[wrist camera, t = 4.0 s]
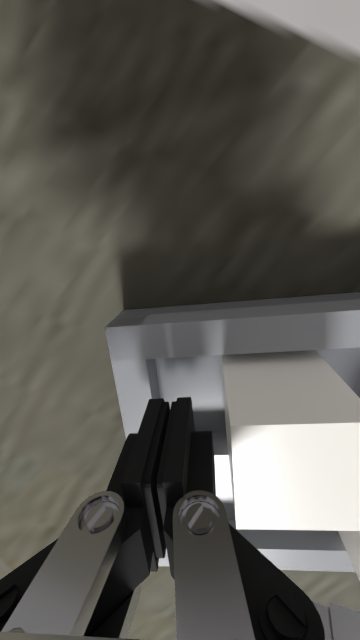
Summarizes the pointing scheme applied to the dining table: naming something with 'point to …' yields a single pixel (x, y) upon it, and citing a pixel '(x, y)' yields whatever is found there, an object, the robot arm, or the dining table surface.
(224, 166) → the dining table surface
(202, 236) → the dining table surface
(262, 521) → the tab
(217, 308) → the switch bank
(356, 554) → the tab
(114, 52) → the dining table surface
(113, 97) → the dining table surface
